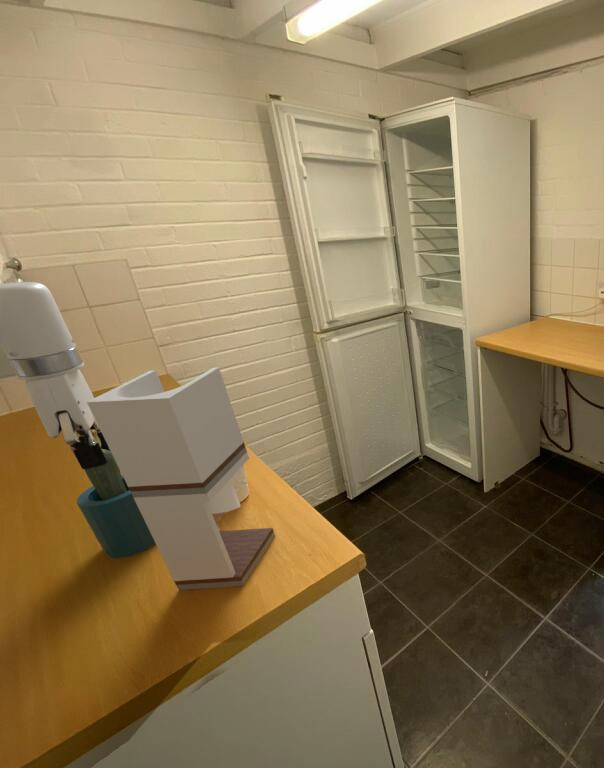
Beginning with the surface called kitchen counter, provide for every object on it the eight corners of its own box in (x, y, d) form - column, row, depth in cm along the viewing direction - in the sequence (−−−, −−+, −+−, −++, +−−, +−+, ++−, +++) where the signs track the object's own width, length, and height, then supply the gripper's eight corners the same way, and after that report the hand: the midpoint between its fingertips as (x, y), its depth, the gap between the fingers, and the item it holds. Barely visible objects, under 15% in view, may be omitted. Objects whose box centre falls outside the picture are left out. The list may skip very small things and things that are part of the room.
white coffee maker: (243, 585, 70) (168, 398, 56) (178, 590, 70) (86, 402, 56) (275, 536, 80) (218, 367, 66) (218, 539, 80) (150, 370, 66)
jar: (96, 565, 75) (66, 513, 70) (116, 531, 83) (90, 481, 78) (162, 547, 79) (137, 496, 74) (174, 516, 87) (153, 467, 82)
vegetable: (128, 533, 77) (80, 440, 69) (109, 531, 78) (59, 438, 70) (151, 516, 81) (108, 427, 73) (133, 514, 82) (88, 425, 74)
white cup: (238, 483, 96) (225, 446, 92) (260, 492, 93) (247, 454, 89) (202, 503, 90) (187, 465, 86) (225, 514, 87) (209, 474, 83)
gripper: (30, 354, 70) (79, 446, 78) (-5, 385, 58) (56, 492, 65) (90, 345, 74) (130, 434, 82) (69, 372, 62) (119, 474, 69)
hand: (97, 458), depth 73 cm, fingers closed on vegetable, 4 cm apart
